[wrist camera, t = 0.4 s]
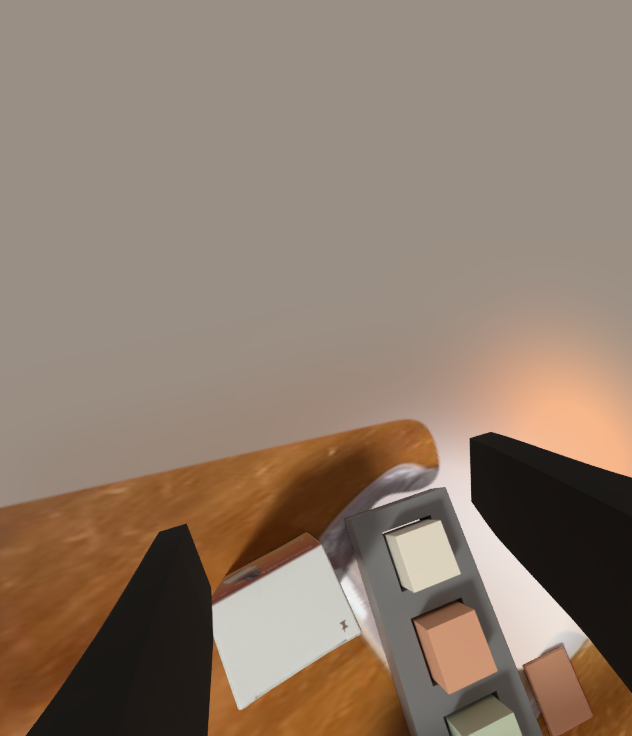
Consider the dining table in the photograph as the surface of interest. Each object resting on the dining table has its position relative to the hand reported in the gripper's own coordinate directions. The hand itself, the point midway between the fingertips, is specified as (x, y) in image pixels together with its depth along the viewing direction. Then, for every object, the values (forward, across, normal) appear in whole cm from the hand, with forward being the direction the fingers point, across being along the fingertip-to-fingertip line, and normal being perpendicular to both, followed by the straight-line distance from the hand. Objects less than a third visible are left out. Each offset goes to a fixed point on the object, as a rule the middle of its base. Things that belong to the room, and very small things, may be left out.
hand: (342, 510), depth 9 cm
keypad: (+13, -8, +27) cm, 31 cm away
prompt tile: (+9, -16, +33) cm, 38 cm away
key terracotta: (+12, -8, +26) cm, 29 cm away
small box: (+17, +4, +21) cm, 27 cm away
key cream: (+16, -8, +21) cm, 27 cm away
